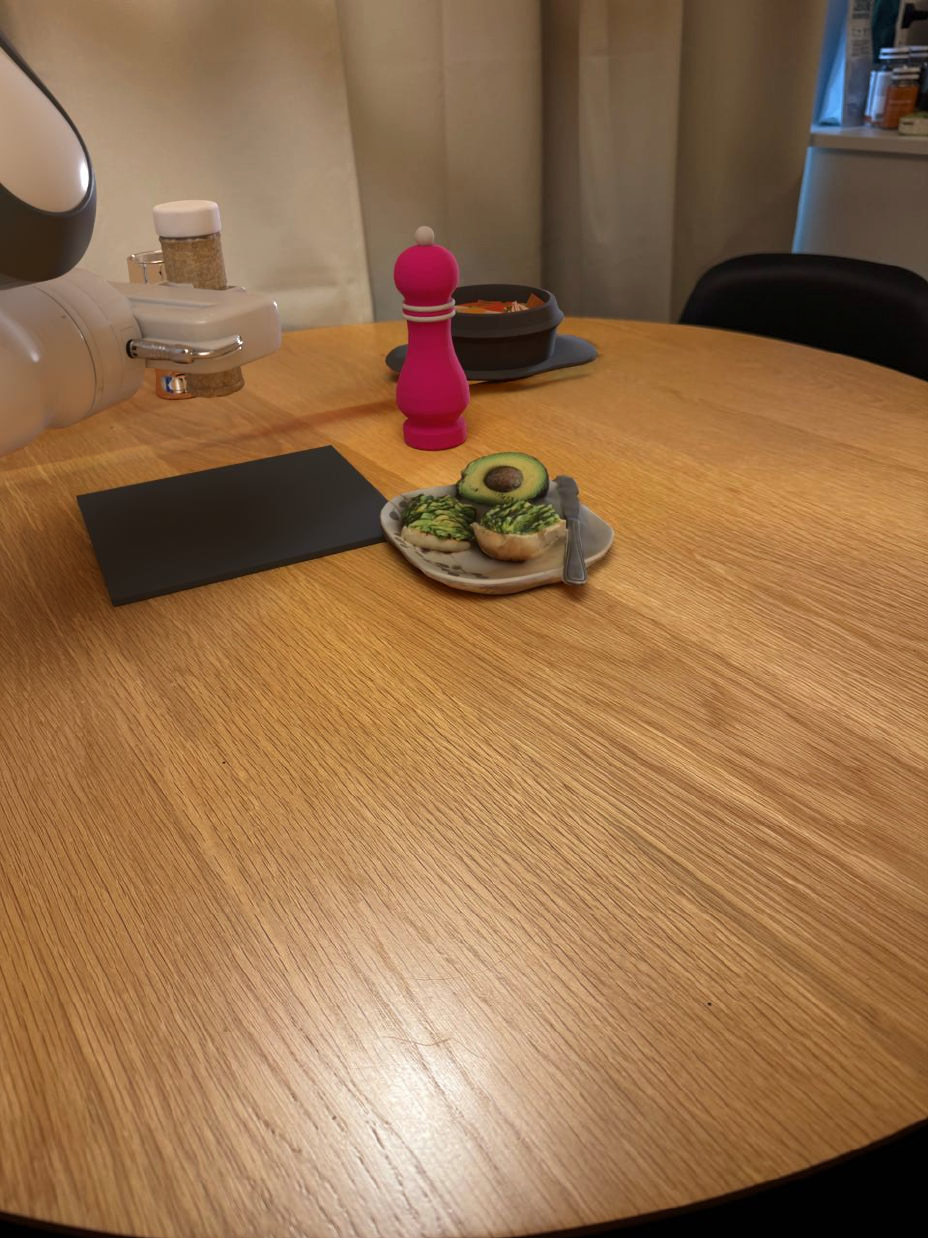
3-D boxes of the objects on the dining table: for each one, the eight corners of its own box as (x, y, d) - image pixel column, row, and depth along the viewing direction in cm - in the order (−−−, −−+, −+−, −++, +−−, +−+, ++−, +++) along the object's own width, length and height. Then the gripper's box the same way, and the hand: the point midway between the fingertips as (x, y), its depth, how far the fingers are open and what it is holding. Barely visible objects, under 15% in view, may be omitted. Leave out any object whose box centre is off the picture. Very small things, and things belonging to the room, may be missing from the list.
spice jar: (252, 393, 74) (224, 203, 67) (192, 403, 73) (158, 210, 66) (237, 377, 78) (209, 195, 71) (179, 386, 76) (145, 201, 69)
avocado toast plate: (676, 582, 71) (683, 525, 69) (452, 634, 65) (451, 575, 63) (552, 481, 86) (555, 432, 84) (361, 517, 80) (358, 465, 78)
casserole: (579, 342, 124) (581, 273, 120) (613, 388, 108) (616, 311, 104) (383, 354, 122) (378, 285, 118) (389, 403, 107) (383, 325, 102)
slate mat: (113, 607, 71) (111, 600, 70) (77, 501, 87) (75, 495, 87) (416, 533, 79) (416, 527, 79) (331, 450, 95) (331, 444, 95)
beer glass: (181, 404, 109) (154, 264, 101) (139, 395, 112) (110, 258, 104) (226, 386, 113) (204, 251, 106) (184, 378, 117) (160, 246, 109)
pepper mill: (456, 456, 93) (447, 234, 82) (387, 448, 95) (369, 232, 85) (481, 429, 99) (475, 219, 88) (415, 423, 101) (402, 217, 90)
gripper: (197, 306, 56) (322, 258, 67) (-56, 282, 64) (93, 242, 74) (215, 411, 59) (332, 349, 70) (-28, 376, 67) (111, 325, 78)
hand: (207, 294), depth 72 cm, fingers closed on spice jar, 4 cm apart
